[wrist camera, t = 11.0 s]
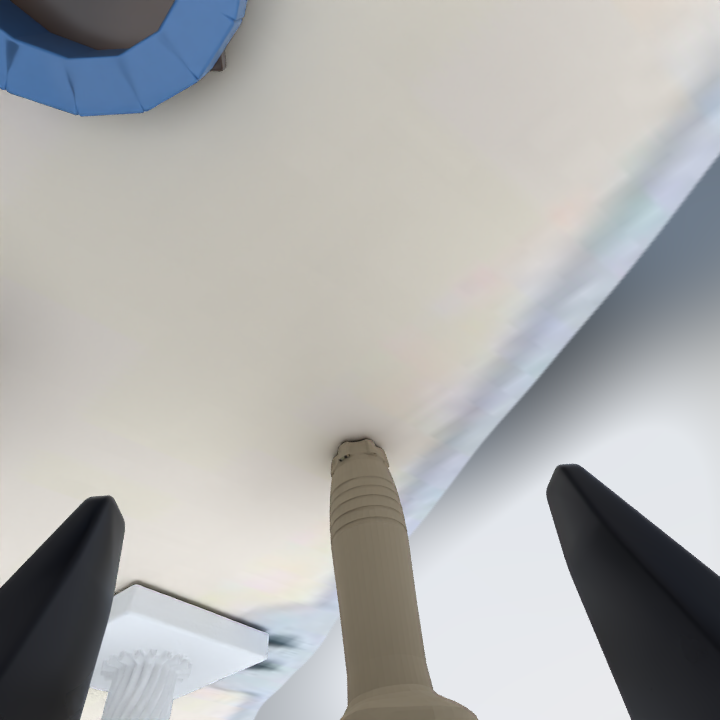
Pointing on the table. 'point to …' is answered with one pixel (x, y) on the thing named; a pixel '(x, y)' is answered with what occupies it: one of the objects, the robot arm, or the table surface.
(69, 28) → the peg stand
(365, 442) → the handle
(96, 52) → the tape
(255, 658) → the trophy
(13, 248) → the table surface
